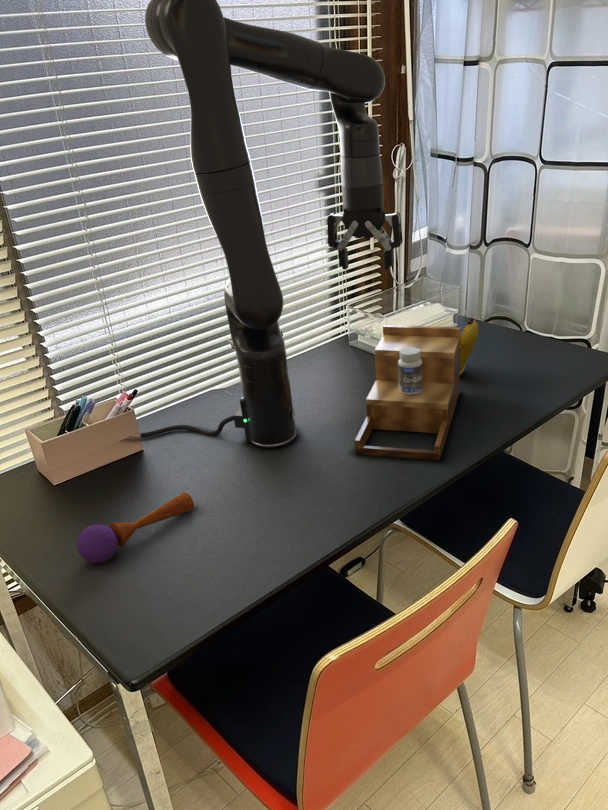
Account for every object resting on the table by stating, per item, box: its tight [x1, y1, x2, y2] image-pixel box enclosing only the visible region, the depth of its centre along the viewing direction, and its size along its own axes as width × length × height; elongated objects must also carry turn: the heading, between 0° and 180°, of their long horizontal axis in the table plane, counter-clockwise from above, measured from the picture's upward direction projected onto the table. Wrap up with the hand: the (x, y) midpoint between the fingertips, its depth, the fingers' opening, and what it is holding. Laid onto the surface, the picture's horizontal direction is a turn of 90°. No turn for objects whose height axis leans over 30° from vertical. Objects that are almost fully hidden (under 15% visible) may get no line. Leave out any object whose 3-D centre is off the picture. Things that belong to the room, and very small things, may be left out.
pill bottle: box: [398, 347, 422, 395], centre depth 138 cm, size 5×5×8 cm
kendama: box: [76, 491, 195, 564], centre depth 115 cm, size 6×6×20 cm
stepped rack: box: [354, 324, 461, 461], centre depth 139 cm, size 16×28×15 cm, turn 165°
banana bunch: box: [459, 316, 480, 377], centre depth 156 cm, size 12×8×15 cm
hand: (366, 268), depth 139 cm, fingers open, 8 cm apart
